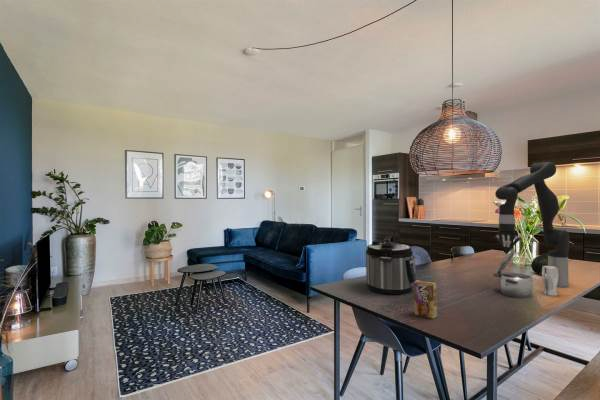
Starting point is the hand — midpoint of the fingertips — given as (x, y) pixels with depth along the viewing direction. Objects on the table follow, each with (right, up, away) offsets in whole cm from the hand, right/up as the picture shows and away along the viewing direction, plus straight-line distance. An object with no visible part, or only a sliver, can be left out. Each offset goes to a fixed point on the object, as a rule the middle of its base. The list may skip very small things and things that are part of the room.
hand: (507, 253), depth 172 cm
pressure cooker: (-62, -23, +11) cm, 67 cm away
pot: (+2, -22, -2) cm, 22 cm away
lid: (0, -5, 0) cm, 5 cm away
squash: (+51, -21, +38) cm, 67 cm away
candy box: (-59, -23, -32) cm, 71 cm away
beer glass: (+20, -22, -5) cm, 30 cm away
